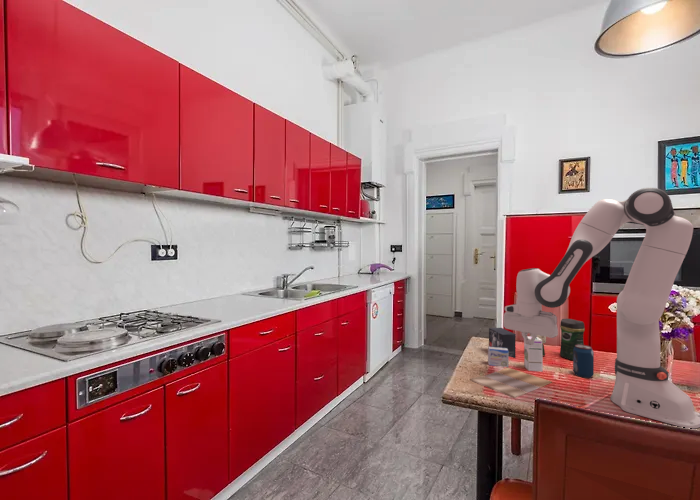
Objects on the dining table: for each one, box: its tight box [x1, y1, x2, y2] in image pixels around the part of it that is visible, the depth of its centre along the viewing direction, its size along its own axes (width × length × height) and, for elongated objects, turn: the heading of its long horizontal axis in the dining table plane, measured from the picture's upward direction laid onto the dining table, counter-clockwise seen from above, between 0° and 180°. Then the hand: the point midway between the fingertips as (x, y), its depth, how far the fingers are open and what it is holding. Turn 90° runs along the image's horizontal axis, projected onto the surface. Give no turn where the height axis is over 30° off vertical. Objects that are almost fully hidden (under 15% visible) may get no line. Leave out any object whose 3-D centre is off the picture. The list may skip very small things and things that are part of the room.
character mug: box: [529, 333, 547, 356], centre depth 164 cm, size 11×7×13 cm, turn 6°
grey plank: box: [484, 371, 541, 393], centre depth 128 cm, size 18×8×2 cm, turn 33°
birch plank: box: [469, 375, 529, 399], centre depth 123 cm, size 18×8×2 cm, turn 33°
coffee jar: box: [559, 318, 586, 361], centre depth 160 cm, size 10×8×19 cm
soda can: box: [572, 344, 595, 379], centre depth 138 cm, size 7×7×12 cm
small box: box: [488, 327, 517, 359], centre depth 165 cm, size 13×7×12 cm, turn 6°
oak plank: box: [496, 366, 553, 388], centre depth 132 cm, size 18×8×2 cm, turn 33°
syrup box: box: [523, 335, 544, 372], centre depth 142 cm, size 6×6×14 cm
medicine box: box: [487, 346, 510, 368], centre depth 147 cm, size 8×4×9 cm, turn 73°
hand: (529, 344), depth 132 cm, fingers closed
